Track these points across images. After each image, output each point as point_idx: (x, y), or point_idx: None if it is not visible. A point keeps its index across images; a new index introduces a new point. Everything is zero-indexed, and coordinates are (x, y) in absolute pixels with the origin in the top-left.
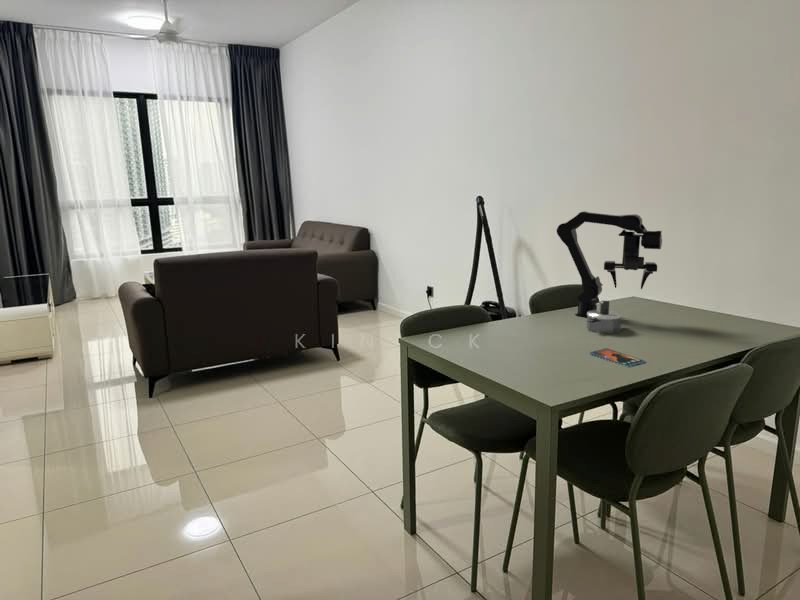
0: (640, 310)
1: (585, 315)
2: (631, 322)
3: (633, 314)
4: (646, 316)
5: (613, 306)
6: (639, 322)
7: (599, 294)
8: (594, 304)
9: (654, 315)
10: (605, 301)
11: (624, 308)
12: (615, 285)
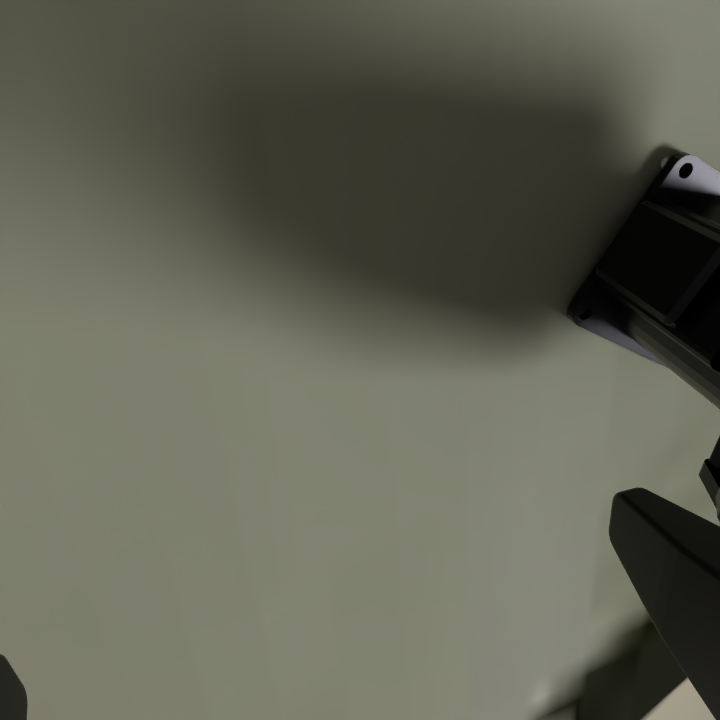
0: (193, 681)
1: (709, 195)
2: (163, 154)
3: (223, 530)
4: (76, 518)
5: (425, 681)
6: (64, 202)
7: (716, 495)
8: (705, 310)
9: (12, 591)
10: None
11: (335, 672)
12: (678, 523)
